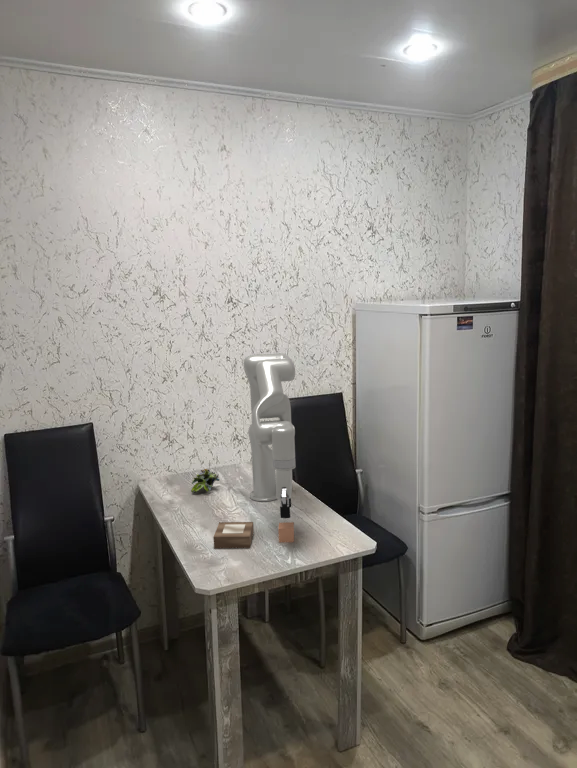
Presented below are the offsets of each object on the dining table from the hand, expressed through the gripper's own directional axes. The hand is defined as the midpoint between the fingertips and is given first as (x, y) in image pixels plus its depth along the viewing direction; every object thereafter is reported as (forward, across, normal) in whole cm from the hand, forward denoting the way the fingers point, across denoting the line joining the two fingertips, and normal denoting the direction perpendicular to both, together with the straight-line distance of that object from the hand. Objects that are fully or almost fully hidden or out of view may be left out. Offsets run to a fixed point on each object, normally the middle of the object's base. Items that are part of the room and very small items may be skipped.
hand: (286, 512), depth 189 cm
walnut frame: (+10, 0, -18) cm, 20 cm away
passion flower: (+9, -49, -37) cm, 62 cm away
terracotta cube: (+10, -1, 0) cm, 10 cm away
